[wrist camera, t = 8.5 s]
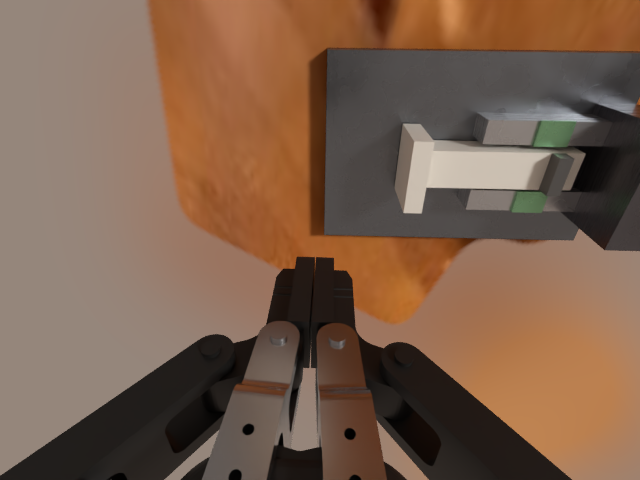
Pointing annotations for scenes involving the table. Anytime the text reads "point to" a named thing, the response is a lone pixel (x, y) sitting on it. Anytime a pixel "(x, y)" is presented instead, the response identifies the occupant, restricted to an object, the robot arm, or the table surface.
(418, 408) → the robot arm
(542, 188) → the plunger
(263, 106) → the table surface
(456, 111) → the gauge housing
